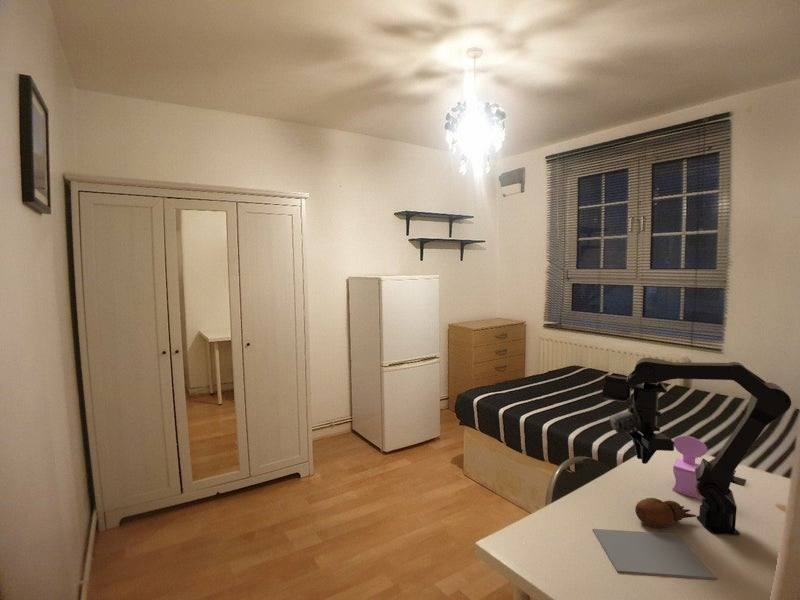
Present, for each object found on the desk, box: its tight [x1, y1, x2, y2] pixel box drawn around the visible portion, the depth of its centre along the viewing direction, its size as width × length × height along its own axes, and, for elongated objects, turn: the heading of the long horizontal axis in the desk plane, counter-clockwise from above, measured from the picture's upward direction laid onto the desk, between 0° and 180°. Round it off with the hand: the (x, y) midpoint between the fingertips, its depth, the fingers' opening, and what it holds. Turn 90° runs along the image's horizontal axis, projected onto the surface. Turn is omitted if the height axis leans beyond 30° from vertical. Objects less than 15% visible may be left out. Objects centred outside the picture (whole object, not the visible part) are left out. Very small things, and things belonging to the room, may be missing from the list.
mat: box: [592, 528, 718, 580], centre depth 93 cm, size 20×14×1 cm
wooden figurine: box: [635, 497, 697, 529], centre depth 104 cm, size 7×6×15 cm
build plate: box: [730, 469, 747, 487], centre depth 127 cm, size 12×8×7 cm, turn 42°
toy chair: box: [671, 435, 708, 499], centre depth 120 cm, size 8×9×15 cm
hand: (641, 461), depth 111 cm, fingers open, 2 cm apart
